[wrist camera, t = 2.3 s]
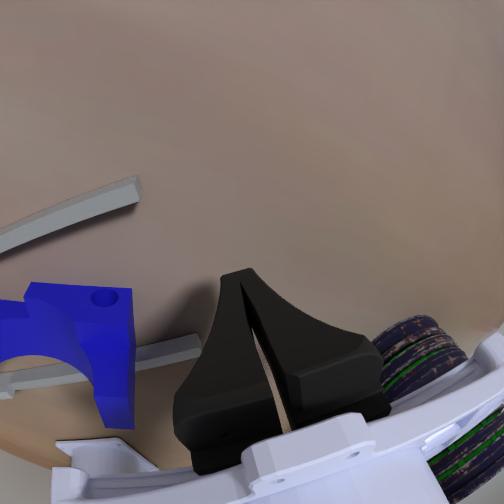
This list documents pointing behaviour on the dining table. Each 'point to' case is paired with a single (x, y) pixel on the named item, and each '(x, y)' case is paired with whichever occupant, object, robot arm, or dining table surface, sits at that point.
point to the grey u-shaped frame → (57, 219)
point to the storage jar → (425, 371)
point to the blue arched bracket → (79, 339)
